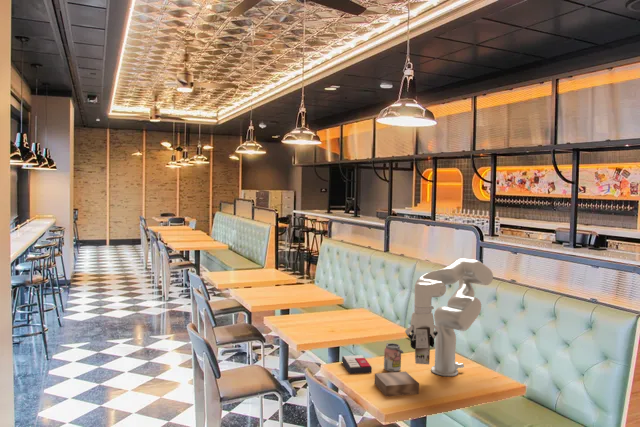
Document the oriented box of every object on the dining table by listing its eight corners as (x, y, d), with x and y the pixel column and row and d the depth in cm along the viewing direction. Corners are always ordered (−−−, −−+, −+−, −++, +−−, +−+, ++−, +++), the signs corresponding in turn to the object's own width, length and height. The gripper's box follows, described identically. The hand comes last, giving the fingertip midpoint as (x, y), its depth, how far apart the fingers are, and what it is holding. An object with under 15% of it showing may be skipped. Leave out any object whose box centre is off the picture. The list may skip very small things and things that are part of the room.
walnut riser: (405, 382, 220) (405, 371, 220) (418, 394, 207) (419, 383, 207) (374, 384, 217) (374, 373, 217) (385, 397, 203) (386, 385, 203)
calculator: (349, 366, 228) (342, 354, 243) (349, 375, 229) (341, 363, 243) (372, 365, 230) (363, 353, 245) (371, 374, 231) (362, 362, 246)
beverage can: (394, 365, 242) (395, 341, 241) (406, 370, 234) (406, 346, 234) (380, 368, 237) (380, 343, 236) (391, 373, 230) (392, 348, 229)
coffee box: (429, 364, 215) (430, 329, 214) (415, 363, 216) (415, 328, 215) (428, 357, 224) (429, 323, 223) (414, 356, 225) (415, 322, 224)
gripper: (435, 306, 225) (435, 342, 226) (401, 309, 220) (401, 346, 221) (444, 310, 218) (443, 348, 219) (409, 313, 213) (408, 351, 214)
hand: (422, 347), depth 220 cm, fingers closed on coffee box, 8 cm apart
